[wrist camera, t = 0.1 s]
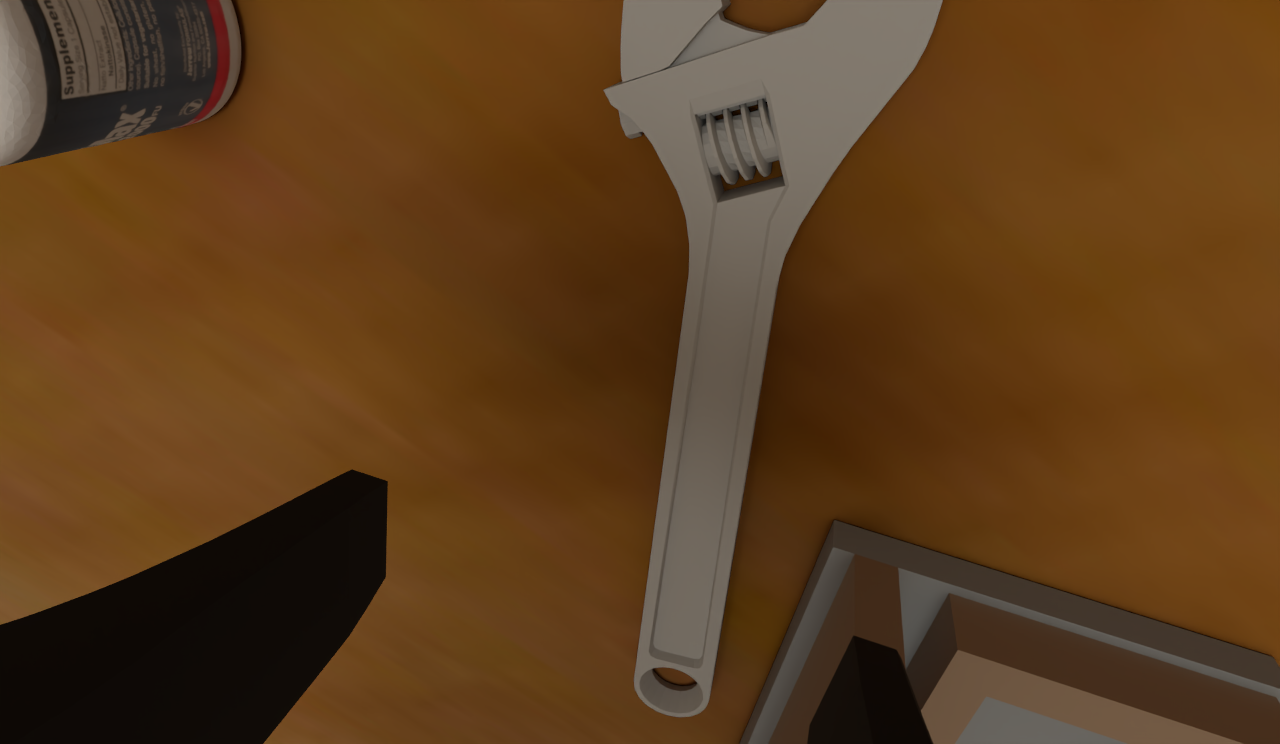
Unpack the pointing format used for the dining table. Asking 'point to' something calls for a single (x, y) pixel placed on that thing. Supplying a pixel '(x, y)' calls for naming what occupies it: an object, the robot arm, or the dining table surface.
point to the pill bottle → (110, 70)
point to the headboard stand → (1009, 657)
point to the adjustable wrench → (736, 258)
